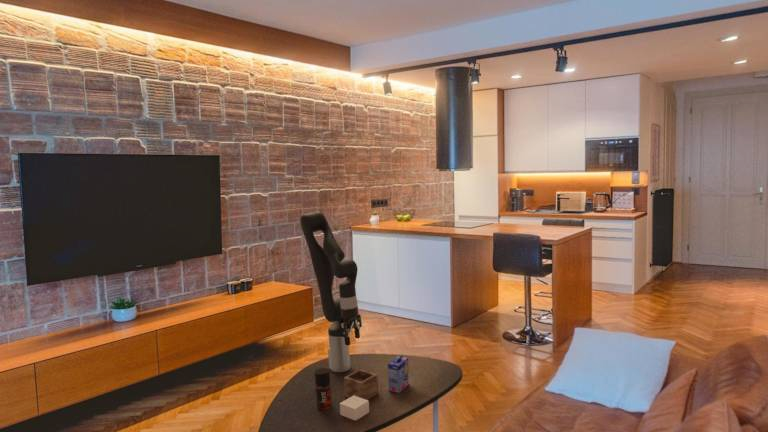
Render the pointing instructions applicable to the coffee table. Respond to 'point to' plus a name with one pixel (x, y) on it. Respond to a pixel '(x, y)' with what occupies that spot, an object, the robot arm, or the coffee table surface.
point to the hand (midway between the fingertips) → (352, 341)
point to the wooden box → (361, 384)
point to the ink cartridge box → (398, 374)
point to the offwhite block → (354, 407)
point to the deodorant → (323, 388)
